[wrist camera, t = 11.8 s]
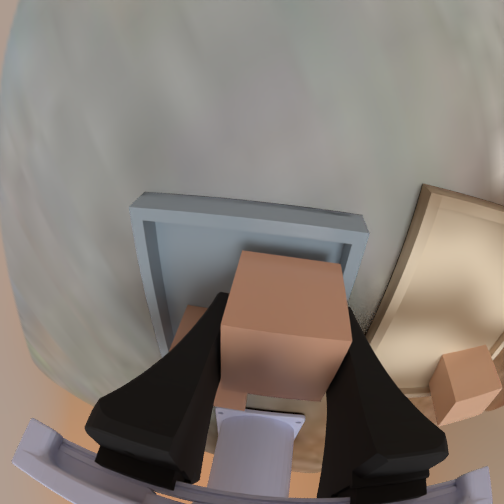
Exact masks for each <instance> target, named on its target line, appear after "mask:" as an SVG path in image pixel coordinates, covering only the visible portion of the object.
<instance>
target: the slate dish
mask: <svg viewBox="0 0 504 504" xmlns="http://www.w3.org/2000/svg"><path fill="white" fill-rule="evenodd" d="M129 211H130V217H131V224H132V230H133V236H134V241H135V247H136V252H137V257H138V263H139V267H140V272H141V277H142V282H143V286H144V291H145V295H146V299H147V304H148V308H149V312H150V316H151V320H152V324H153V327H154V331H155V335H156V338H157V342H158V346H159V349H160V353H161V356H162V358H163V357H164V356H165V355H166V354H167V353H168V352H169V350H170V347H171V345H172V342H173V340H174V337H175V335H176V332H177V330H178V327H179V325H180V322H181V320H182V317H183V315H184V312H185V310H186V308H187V305H192V306H198V307H205V308H208V307H209V306H210V305H211V303H212V302H213V300H214V299H215V297H216V296H217V294H218V293H219V292H225V293H230V291H231V287H232V284H233V280H234V277H235V273H236V270H237V266H238V263H239V260H240V256H241V253H242V250H243V251H251V252H258V253H265V254H273V255H280V256H287V257H294V258H302V259H309V260H316V261H323V262H331V263H338V264H341V268H342V274H343V280H344V286H345V292H346V298H347V302H348V299H349V297H350V294H351V291H352V288H353V285H354V282H355V279H356V276H357V273H358V270H359V267H360V263H361V260H362V257H363V254H364V250H365V247H366V244H367V240H368V237H369V231H368V228H367V226H366V223H365V221H364V218H363V216H362V215H358V214H351V213H344V212H337V211H330V210H323V209H316V208H308V207H300V206H292V205H284V204H275V203H266V202H257V201H247V200H237V199H227V198H216V197H205V196H192V195H179V194H165V193H149V192H144V193H143V194H142V195H141V196H140V197H139V198H138V199H137V200H136V201H135V202H134V203H133V204H132V205H131V206H129Z"/></svg>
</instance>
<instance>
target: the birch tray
mask: <svg viewBox="0 0 504 504" xmlns="http://www.w3.org/2000/svg"><path fill="white" fill-rule="evenodd" d="M365 337H366V339H367V340H368V342H369V344H370V346H371V347H372V349H373V351H374V353H375V354H376V356H377V358H378V359H379V361H380V362H381V364H382V365H383V367H384V368H385V370H386V371H387V373H388V374H389V376H390V377H391V378H392V380H393V381H394V382H395V384H396V385H397V386H398V388H399V389H400V390H401V391H402V393H403V394H404V395H405V396H406V397H407V398H410V397H426V396H431V392H430V387H429V382H430V380H431V378H432V376H433V374H434V372H435V370H436V367H437V365H438V363H439V361H440V359H441V356H442V354H447V353H452V352H457V351H461V350H465V349H470V348H474V347H478V346H482V345H486V346H487V348H488V351H489V353H490V355H491V358H492V360H493V359H494V358H495V357H496V356H497V355H498V353H499V352H500V351H501V350H502V348H503V347H504V206H502V205H499V204H496V203H492V202H489V201H486V200H483V199H479V198H476V197H472V196H469V195H465V194H462V193H458V192H454V191H451V190H447V189H443V188H439V187H435V186H431V185H426V184H423V185H422V189H421V192H420V196H419V199H418V203H417V206H416V209H415V213H414V216H413V219H412V222H411V225H410V228H409V231H408V234H407V237H406V240H405V243H404V245H403V248H402V251H401V254H400V256H399V259H398V262H397V264H396V267H395V270H394V272H393V275H392V277H391V280H390V282H389V285H388V287H387V289H386V292H385V294H384V297H383V299H382V301H381V303H380V306H379V308H378V310H377V313H376V315H375V317H374V319H373V321H372V323H371V326H370V328H369V330H368V332H367V334H366V336H365Z"/></svg>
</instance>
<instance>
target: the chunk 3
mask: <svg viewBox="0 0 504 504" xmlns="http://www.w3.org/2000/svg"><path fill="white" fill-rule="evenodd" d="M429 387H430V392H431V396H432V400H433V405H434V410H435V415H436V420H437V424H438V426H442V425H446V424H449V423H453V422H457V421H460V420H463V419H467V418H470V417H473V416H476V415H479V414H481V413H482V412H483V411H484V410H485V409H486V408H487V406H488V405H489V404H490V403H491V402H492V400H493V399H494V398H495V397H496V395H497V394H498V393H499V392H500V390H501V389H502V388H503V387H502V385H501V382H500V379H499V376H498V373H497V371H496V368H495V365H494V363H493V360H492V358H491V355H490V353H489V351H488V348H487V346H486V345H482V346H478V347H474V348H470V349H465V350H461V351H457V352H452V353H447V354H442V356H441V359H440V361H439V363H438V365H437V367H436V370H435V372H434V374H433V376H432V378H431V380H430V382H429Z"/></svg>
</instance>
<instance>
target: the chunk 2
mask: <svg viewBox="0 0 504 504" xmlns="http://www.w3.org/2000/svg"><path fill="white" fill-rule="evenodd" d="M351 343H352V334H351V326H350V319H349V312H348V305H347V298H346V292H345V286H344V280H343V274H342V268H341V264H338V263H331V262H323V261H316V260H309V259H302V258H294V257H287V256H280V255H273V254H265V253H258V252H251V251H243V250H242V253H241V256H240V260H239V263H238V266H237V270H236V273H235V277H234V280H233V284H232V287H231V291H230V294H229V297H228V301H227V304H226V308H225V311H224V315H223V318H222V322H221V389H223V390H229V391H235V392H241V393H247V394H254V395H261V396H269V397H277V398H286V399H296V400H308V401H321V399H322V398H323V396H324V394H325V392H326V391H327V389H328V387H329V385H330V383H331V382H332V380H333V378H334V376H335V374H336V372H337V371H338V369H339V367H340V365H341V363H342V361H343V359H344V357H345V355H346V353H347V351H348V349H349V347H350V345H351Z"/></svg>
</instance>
